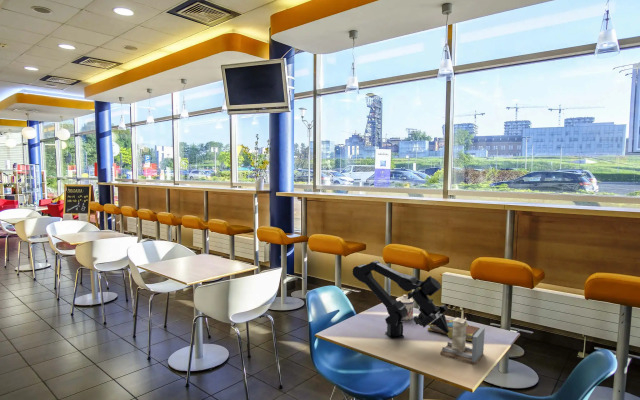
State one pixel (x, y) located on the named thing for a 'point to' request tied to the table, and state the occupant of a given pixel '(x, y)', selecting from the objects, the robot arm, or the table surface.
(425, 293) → the robot arm
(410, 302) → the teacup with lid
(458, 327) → the ash block
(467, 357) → the rail board
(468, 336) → the book
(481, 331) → the backstop wall
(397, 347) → the table surface
